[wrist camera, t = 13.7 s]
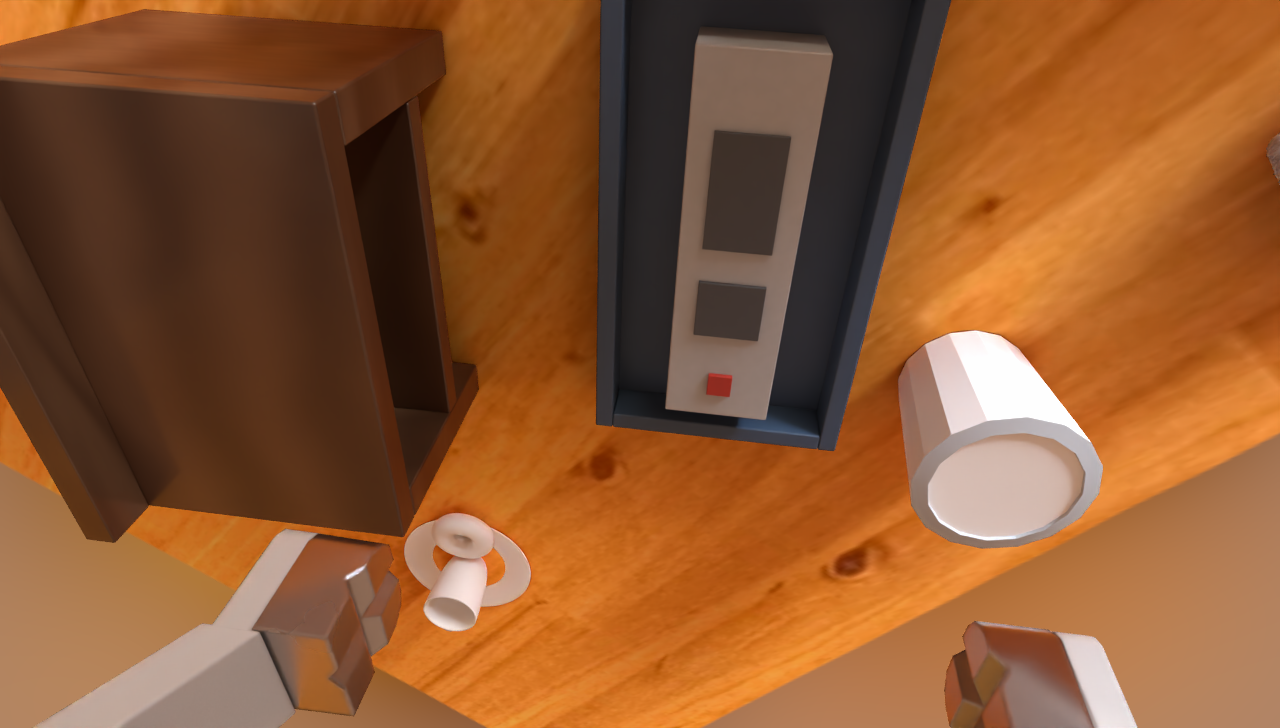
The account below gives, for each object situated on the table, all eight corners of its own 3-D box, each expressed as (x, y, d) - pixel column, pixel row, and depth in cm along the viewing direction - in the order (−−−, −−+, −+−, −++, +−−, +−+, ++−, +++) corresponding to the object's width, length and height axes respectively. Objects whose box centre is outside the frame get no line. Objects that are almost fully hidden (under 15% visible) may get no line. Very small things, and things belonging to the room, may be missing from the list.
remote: (700, 25, 26) (694, 44, 23) (825, 35, 26) (834, 55, 23) (670, 370, 35) (664, 412, 32) (764, 380, 34) (765, 423, 32)
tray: (941, -40, 25) (959, -30, 22) (829, 416, 36) (834, 452, 34) (613, -60, 25) (600, -53, 23) (604, 392, 37) (595, 425, 34)
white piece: (447, 485, 42) (422, 538, 39) (563, 549, 44) (548, 606, 41) (387, 560, 47) (359, 614, 43) (494, 616, 49) (476, 671, 45)
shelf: (442, 30, 28) (274, 125, 18) (479, 389, 37) (383, 578, 28) (143, 8, 29) (-172, 88, 19) (255, 365, 38) (86, 539, 29)
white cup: (1077, 353, 32) (1148, 460, 26) (980, 458, 36) (1023, 571, 30) (939, 295, 31) (981, 392, 26) (855, 408, 35) (875, 515, 30)
